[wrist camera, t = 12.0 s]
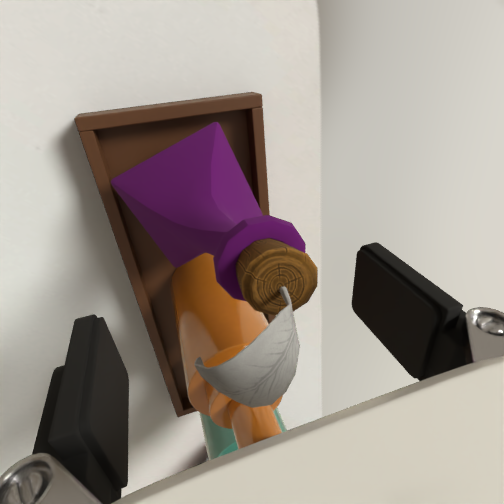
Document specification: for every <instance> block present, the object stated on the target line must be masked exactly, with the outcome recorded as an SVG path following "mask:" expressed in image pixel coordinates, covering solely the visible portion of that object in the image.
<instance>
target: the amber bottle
mask: <svg viewBox="0 0 504 504" xmlns="http://www.w3.org/2000/svg"><path fill="white" fill-rule="evenodd" d="M213 257H214V256H213V255H211V254H208V253H203V254H202V255H200V256H198V257H196V258H194V259H193V260H191V261H189V262H187V263H185V264H183V265H182V266H180V267H178V268H177V269H176V271H175V272H174V274H173V276H172V279H171V283H170V291H171V297H172V303H173V309H174V315H175V321H176V327H177V333H178V339H179V345H180V351H181V357H182V363H183V369H184V375H185V381H186V387H187V393H188V398H189V401H190V403H191V404H192V406H193V407H194V408H195V409H196V410H197V411H199V412H200V413H202V414H204V415H207V416H210V417H211V419H212V421H213V422H214V423H215V424H216V425H218V426H220V427H223V428H228V429H233V432H234V436H235V440H236V443H237V447H238V449H241V448H244V447H246V446H249V445H251V444H254V443H257V442H259V441H262V440H264V439H267V438H270V437H272V436H275V435H278V434H280V433H282V431H281V428H280V426H279V424H278V421H277V419H276V416H275V414H274V410H275V409H276V408H277V406H278V405H279V403H280V402H281V399H282V396H283V395H282V396H281V397H280V398H278V399H277V400H276V401H275V402H274V403H273V404H272V405H268V406H261V407H254V408H252V407H249V406H246V405H244V404H241V403H239V402H236V401H235V400H233V399H231V398H229V397H227V396H226V395H224V394H222V393H220V392H218V391H217V390H216V389H215V388H214V387H213V386H212V385H210V384H209V383H208V382H207V381H206V380H205V379H203V378H202V377H201V376H200V374H199V372H198V370H197V369H196V367H195V365H194V364H195V361H196V359H197V358H199V357H201V360H202V362H203V364H204V366H205V367H208V368H209V367H214V366H218V365H220V364H222V363H223V362H225V361H227V360H229V359H231V358H233V357H234V356H235V355H237V354H238V353H239V352H240V351H241V350H243V349H244V348H245V347H246V346H247V345H249V344H250V343H251V342H252V341H253V340H254V339H255V338H256V337H257V336H258V335H259V334H260V333H261V332H262V331H263V330H265V329H266V327H267V326H268V325H269V323H268V322H267V320H266V318H265V316H264V314H263V313H262V312H259V311H255V310H254V309H253V308H252V307H251V306H250V305H249V303H248V302H247V301H242V300H237V299H234V298H232V297H231V296H230V295H229V294H228V293H227V292H226V291H225V290H224V289H223V288H222V287H221V286H220V285H219V284H218V283H217V281H216V275H215V267H214V260H213Z"/></svg>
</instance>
